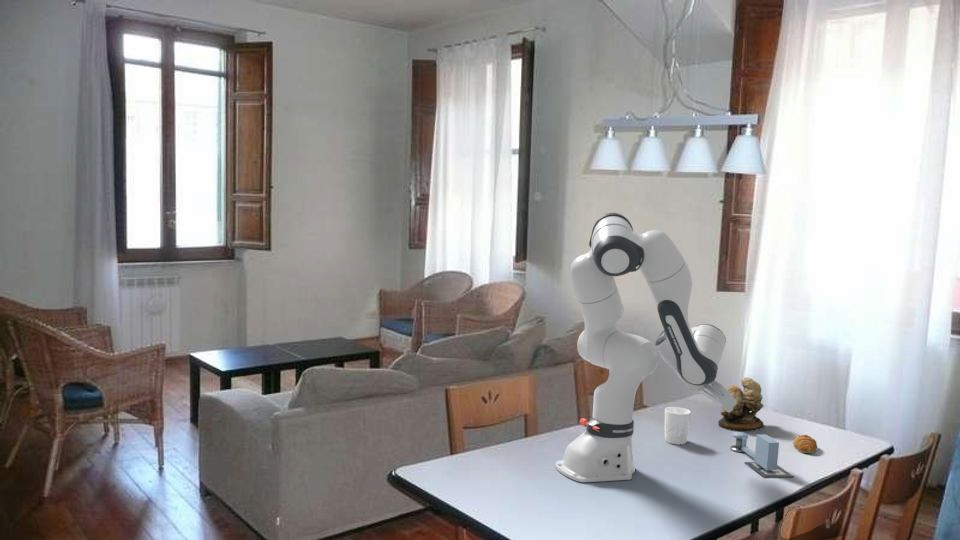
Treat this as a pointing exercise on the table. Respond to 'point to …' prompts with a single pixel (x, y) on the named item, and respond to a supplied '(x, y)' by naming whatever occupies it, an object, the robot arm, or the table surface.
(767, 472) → the label panel
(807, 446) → the pastry
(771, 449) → the swing arm
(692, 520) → the table surface
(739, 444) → the pivot post
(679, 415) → the white cup
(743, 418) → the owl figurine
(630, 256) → the robot arm
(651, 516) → the table surface
